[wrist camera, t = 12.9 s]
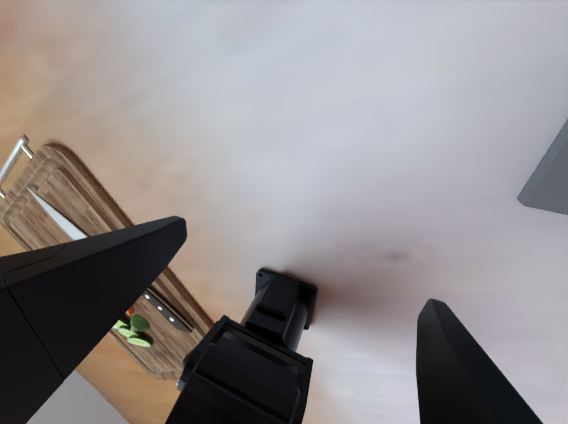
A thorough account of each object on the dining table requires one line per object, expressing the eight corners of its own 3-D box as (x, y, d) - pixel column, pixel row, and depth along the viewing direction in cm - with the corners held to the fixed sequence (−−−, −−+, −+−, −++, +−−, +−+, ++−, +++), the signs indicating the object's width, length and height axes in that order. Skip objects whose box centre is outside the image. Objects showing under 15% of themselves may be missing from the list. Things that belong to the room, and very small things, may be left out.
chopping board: (-12, 198, 41) (-38, 207, 39) (43, 110, 28) (8, 114, 25) (165, 381, 53) (154, 396, 50) (264, 381, 39) (255, 403, 37)
